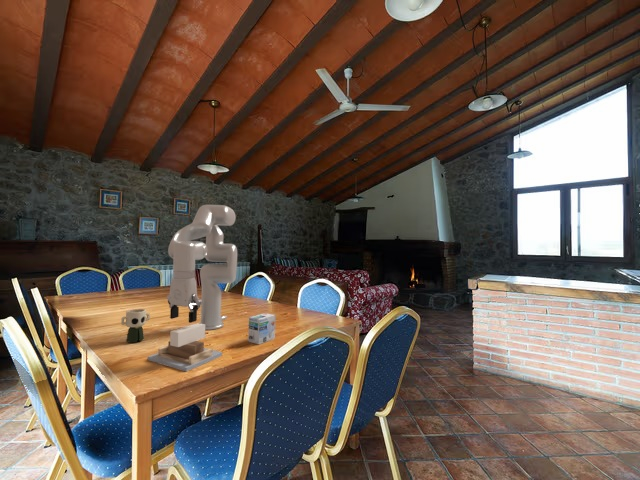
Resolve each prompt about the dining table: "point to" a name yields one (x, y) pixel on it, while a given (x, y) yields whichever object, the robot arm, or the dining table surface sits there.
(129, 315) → the character mug
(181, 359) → the cradle
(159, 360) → the jig board
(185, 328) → the plank
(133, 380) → the dining table surface
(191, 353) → the brown rectangular block
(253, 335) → the light bulb box
